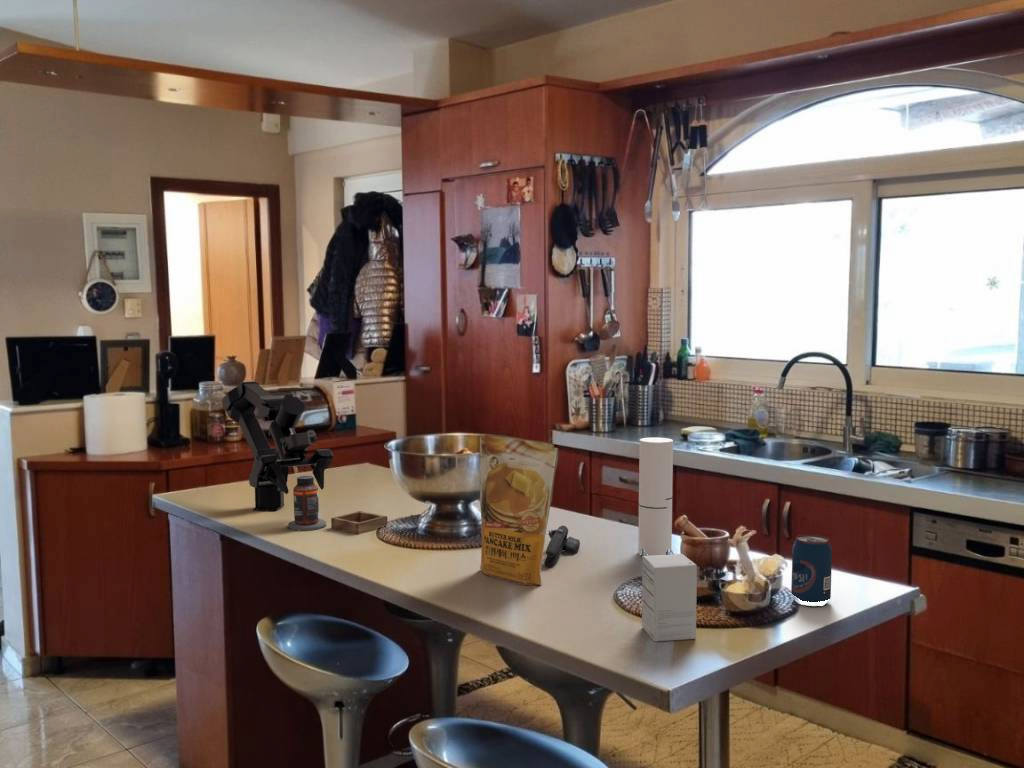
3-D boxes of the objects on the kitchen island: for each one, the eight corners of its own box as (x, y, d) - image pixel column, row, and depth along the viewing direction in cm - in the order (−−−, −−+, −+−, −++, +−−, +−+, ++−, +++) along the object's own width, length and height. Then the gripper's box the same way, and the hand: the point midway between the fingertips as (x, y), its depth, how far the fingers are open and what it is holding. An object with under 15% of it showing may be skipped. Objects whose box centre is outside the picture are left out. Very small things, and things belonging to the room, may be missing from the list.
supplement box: (682, 624, 169) (683, 552, 167) (696, 640, 161) (698, 564, 160) (640, 627, 168) (641, 554, 166) (653, 642, 160) (654, 566, 159)
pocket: (331, 528, 237) (331, 518, 237) (360, 520, 244) (360, 511, 244) (358, 534, 231) (358, 523, 231) (387, 526, 239) (387, 516, 238)
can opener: (552, 546, 221) (552, 521, 221) (582, 548, 219) (583, 524, 219) (531, 567, 204) (531, 541, 204) (563, 570, 202) (564, 543, 202)
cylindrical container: (678, 553, 214) (679, 440, 211) (657, 559, 209) (658, 443, 207) (652, 547, 219) (653, 436, 217) (631, 553, 214) (632, 439, 212)
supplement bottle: (324, 521, 241) (322, 475, 240) (310, 526, 235) (309, 479, 234) (303, 519, 243) (301, 474, 242) (289, 524, 237) (288, 478, 236)
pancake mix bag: (490, 564, 206) (489, 431, 203) (560, 582, 193) (561, 441, 191) (467, 571, 201) (466, 435, 198) (538, 590, 188) (539, 445, 186)
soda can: (783, 601, 181) (784, 537, 180) (806, 594, 185) (808, 531, 184) (815, 610, 176) (817, 545, 175) (838, 603, 180) (840, 539, 179)
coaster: (283, 530, 235) (283, 526, 235) (295, 521, 244) (295, 518, 244) (319, 531, 234) (319, 527, 234) (330, 522, 243) (330, 519, 243)
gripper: (258, 423, 236) (277, 475, 228) (329, 416, 247) (350, 467, 239) (246, 450, 243) (265, 502, 235) (316, 443, 254) (336, 493, 246)
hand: (305, 490), depth 239 cm, fingers open, 9 cm apart
